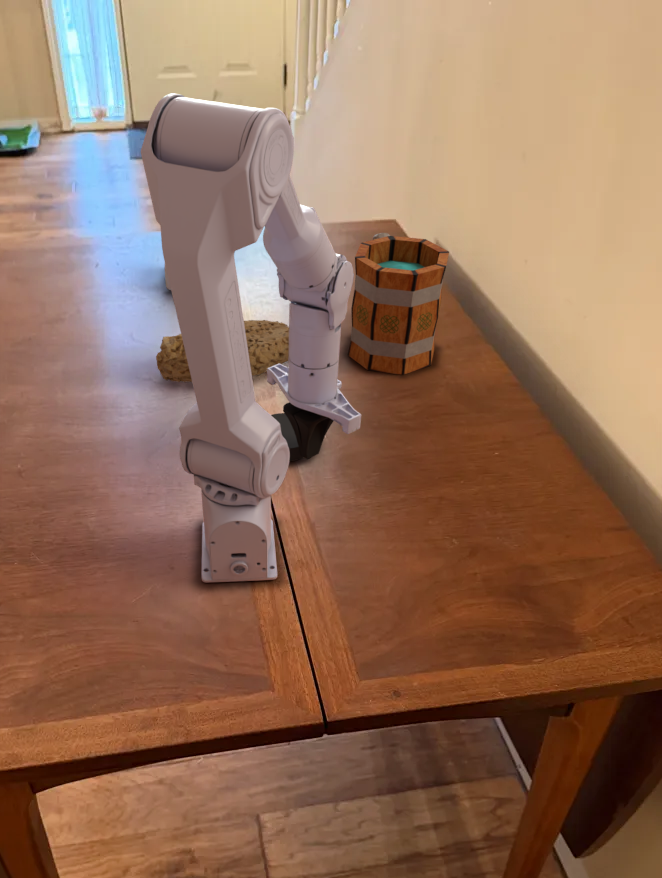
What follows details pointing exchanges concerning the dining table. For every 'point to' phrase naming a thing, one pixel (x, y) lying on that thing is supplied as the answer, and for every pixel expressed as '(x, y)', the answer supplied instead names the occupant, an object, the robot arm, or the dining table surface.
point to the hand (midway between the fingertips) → (309, 454)
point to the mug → (396, 303)
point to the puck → (288, 436)
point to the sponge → (262, 342)
